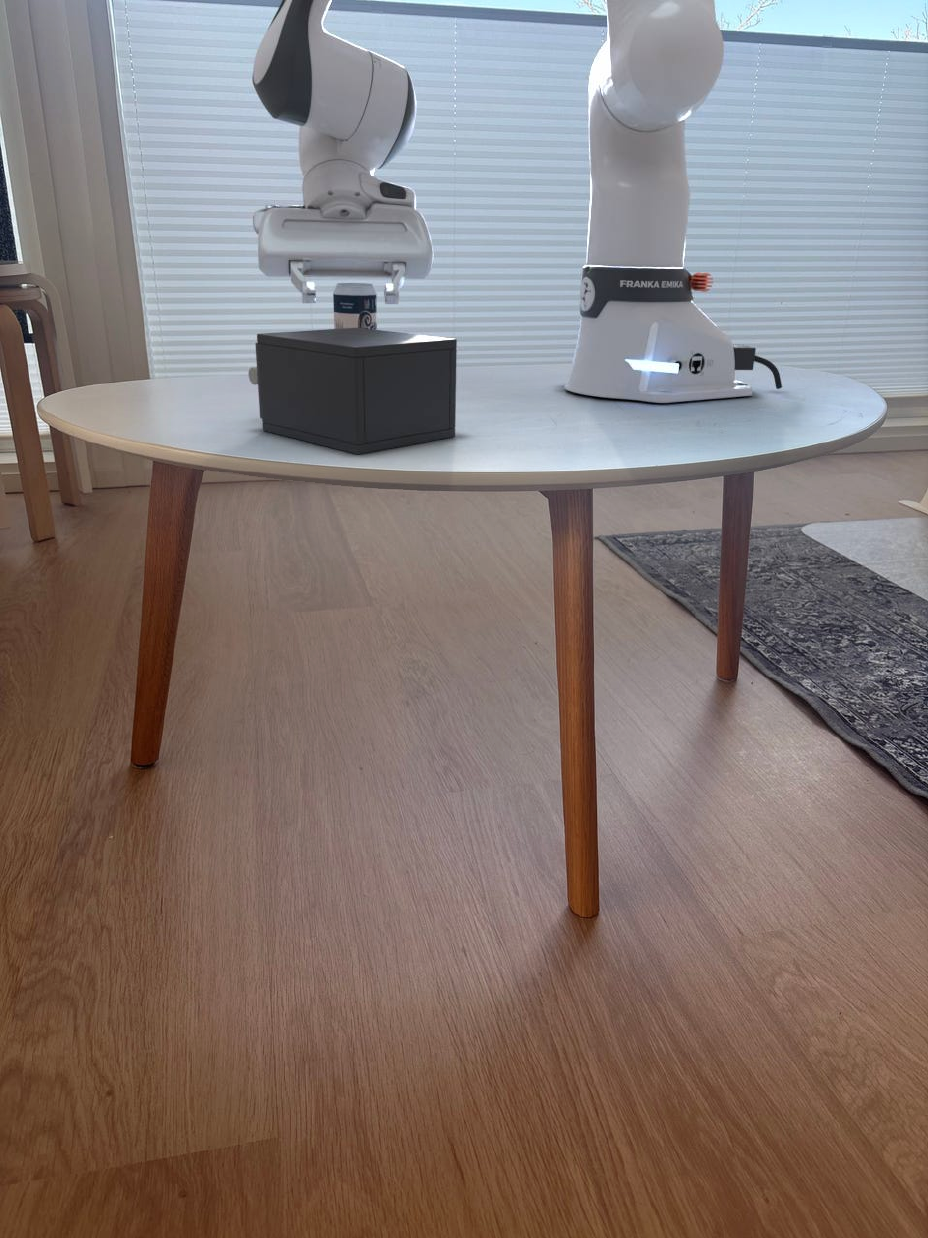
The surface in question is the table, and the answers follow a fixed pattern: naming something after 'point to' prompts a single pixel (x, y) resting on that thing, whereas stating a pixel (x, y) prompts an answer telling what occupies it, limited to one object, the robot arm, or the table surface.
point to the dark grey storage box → (358, 387)
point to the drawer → (256, 378)
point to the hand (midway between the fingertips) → (351, 300)
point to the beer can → (355, 306)
